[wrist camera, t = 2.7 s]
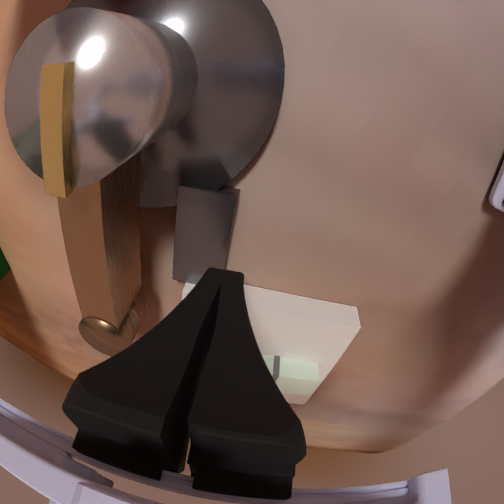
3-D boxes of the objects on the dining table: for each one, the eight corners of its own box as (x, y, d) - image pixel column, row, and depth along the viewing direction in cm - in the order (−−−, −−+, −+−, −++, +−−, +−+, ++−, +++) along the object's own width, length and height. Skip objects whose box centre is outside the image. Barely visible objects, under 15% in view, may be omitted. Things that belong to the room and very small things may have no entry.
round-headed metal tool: (89, 25, 8) (1, 25, 4) (209, 23, 8) (154, -6, 4) (96, 291, 16) (57, 353, 12) (175, 313, 16) (148, 387, 12)
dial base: (312, -27, 7) (315, -35, 6) (238, 283, 15) (235, 297, 14) (61, -22, 6) (47, -24, 6) (56, 238, 15) (46, 248, 14)
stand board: (356, 306, 15) (366, 359, 13) (304, 387, 21) (303, 428, 18) (190, 272, 15) (170, 322, 12) (184, 365, 20) (172, 406, 17)
